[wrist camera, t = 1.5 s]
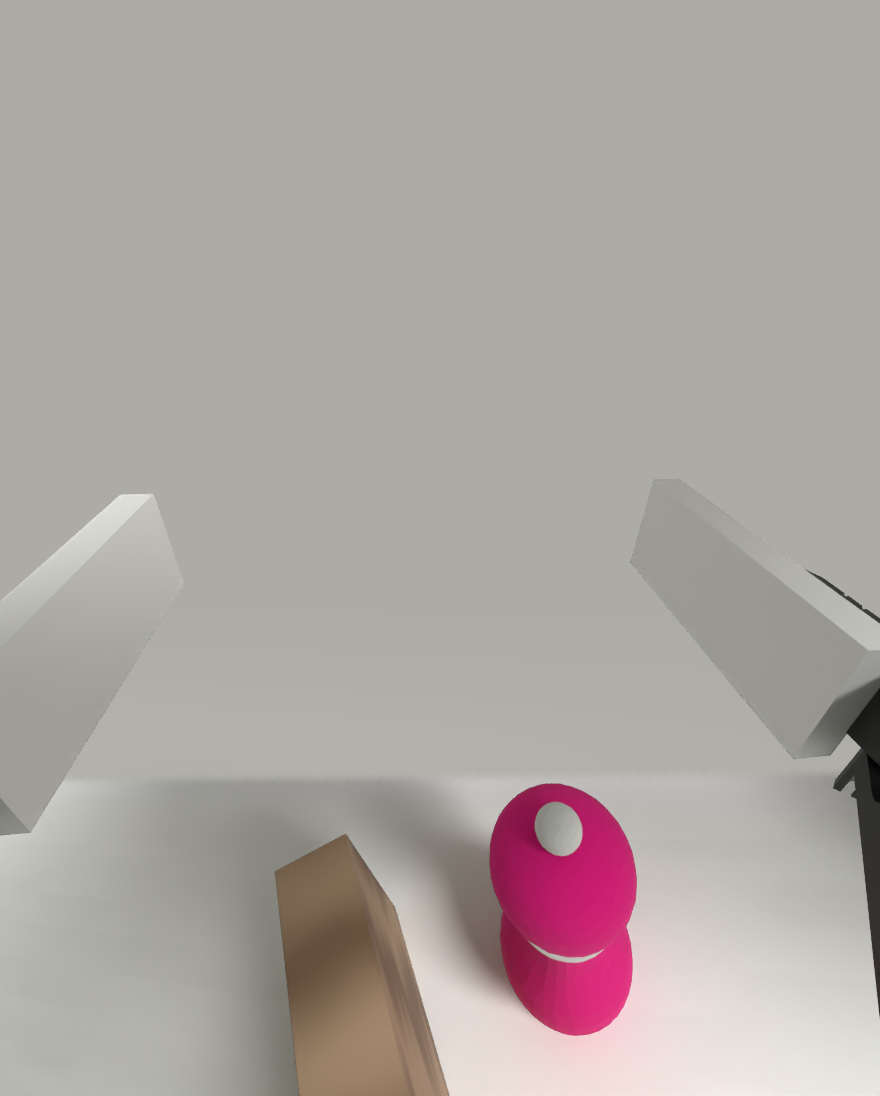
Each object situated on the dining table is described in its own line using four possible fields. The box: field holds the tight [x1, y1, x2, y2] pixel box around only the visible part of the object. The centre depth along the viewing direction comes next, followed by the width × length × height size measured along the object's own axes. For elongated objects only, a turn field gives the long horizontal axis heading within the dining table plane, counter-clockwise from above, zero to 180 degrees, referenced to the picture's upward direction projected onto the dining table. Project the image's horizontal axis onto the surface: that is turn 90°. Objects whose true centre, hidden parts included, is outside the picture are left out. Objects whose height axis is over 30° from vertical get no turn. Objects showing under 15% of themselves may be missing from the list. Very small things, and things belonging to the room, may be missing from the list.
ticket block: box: [275, 834, 449, 1096], centre depth 24 cm, size 12×4×12 cm, turn 24°
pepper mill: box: [489, 784, 637, 1036], centre depth 23 cm, size 7×7×20 cm
